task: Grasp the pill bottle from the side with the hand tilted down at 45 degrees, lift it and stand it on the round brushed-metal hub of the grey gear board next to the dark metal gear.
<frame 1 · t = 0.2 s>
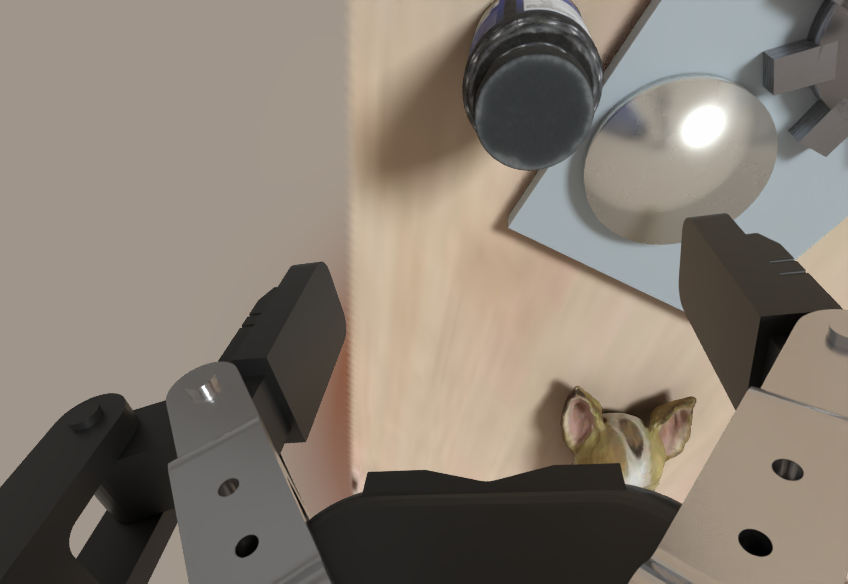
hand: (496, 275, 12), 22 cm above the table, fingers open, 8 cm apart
gear board: (744, 118, 30), on the table
pill bottle: (528, 43, 29), on the table
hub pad: (671, 161, 30), resting on gear board
ceramic sculpture: (611, 424, 49), on the table
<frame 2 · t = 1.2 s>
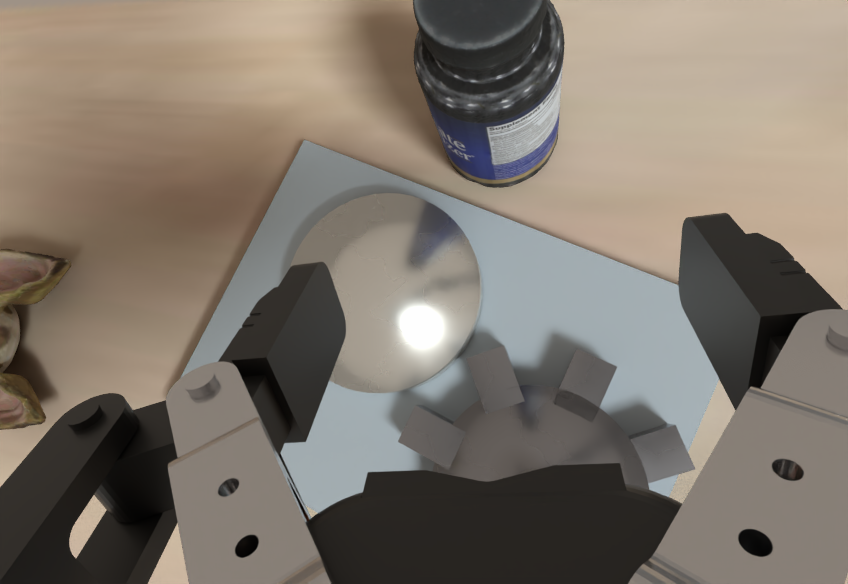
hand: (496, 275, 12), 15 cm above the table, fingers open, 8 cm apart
gear board: (430, 369, 27), on the table
pill bottle: (501, 140, 29), on the table
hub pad: (385, 294, 27), resting on gear board
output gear: (536, 487, 23), resting on gear board
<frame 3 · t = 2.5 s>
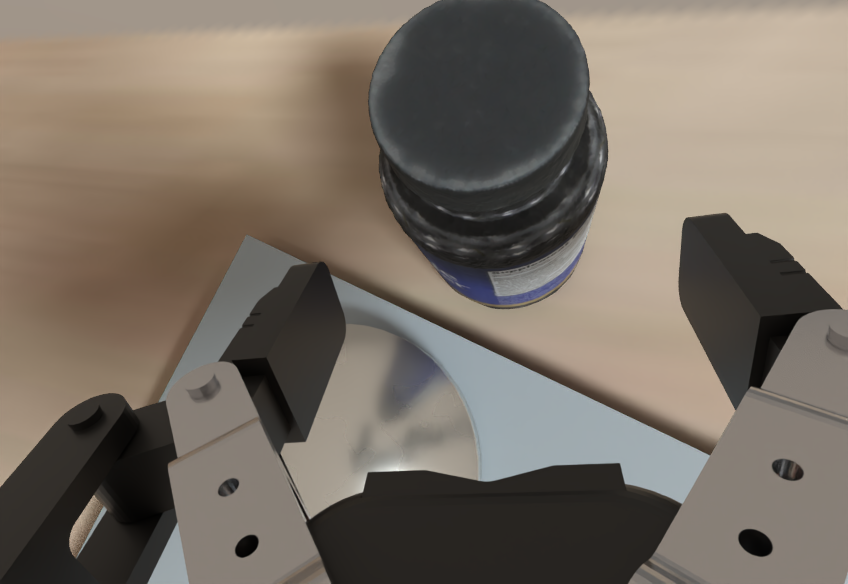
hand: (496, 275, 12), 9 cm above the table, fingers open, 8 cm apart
gear board: (409, 562, 20), on the table
pill bottle: (507, 240, 22), on the table
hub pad: (348, 460, 19), resting on gear board
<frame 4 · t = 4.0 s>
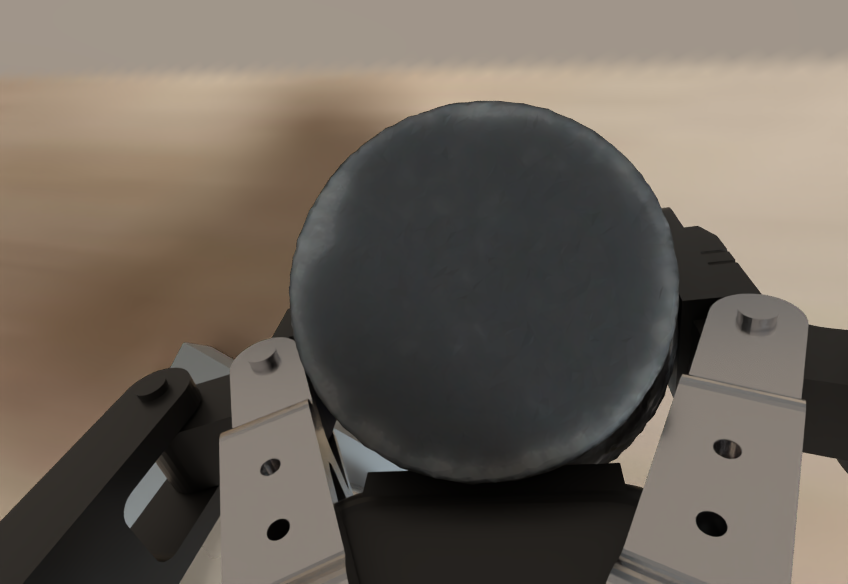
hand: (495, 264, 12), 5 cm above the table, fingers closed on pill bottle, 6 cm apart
pill bottle: (514, 353, 17), on the table, touching gripper
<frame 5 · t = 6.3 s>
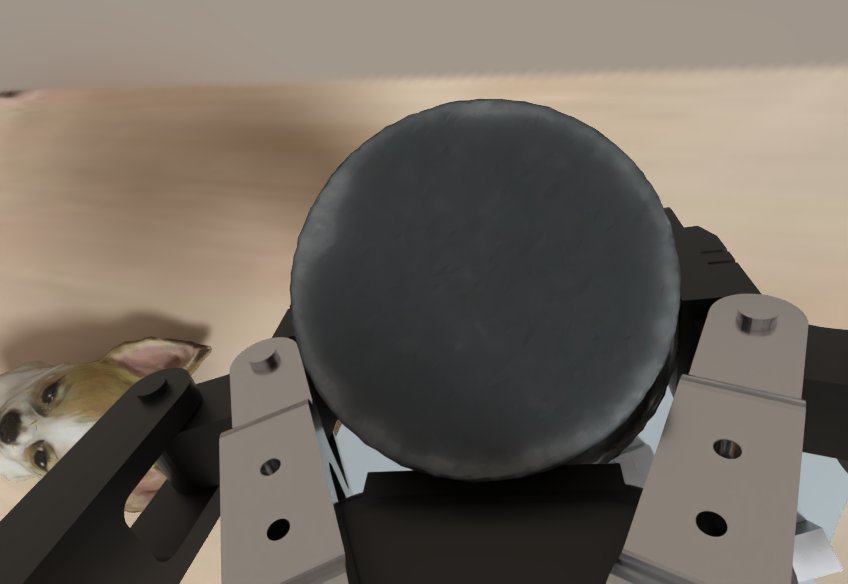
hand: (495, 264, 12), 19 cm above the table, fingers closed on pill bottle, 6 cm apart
gear board: (564, 455, 29), on the table
pill bottle: (514, 352, 17), point 14 cm above the table, touching gripper
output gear: (681, 576, 25), resting on gear board
ceramic sculpture: (133, 418, 36), on the table
when the fingers open (9 cm above the table, at t = 8.7 s): pill bottle drops 1 cm, resting on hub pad.
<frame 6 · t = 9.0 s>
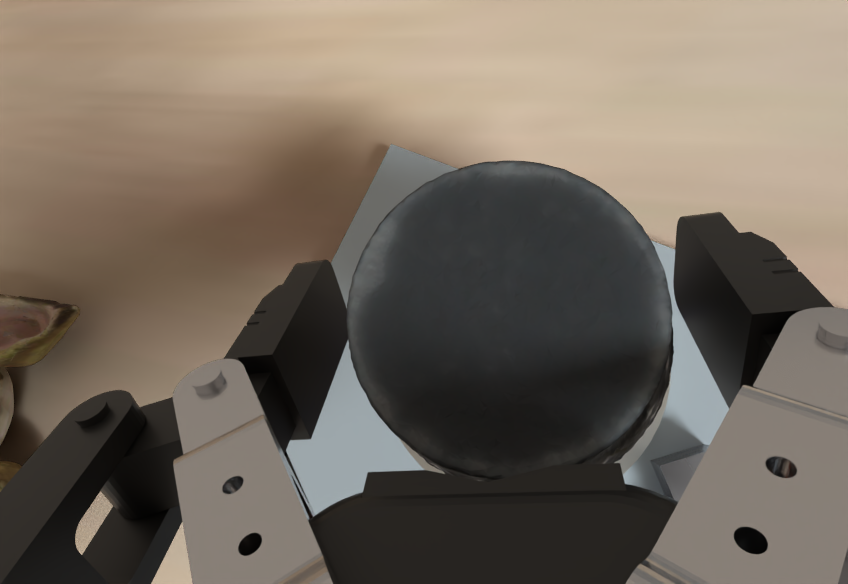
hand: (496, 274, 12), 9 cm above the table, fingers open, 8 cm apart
gear board: (577, 463, 19), on the table
pill bottle: (523, 361, 18), point 3 cm above the table, touching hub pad
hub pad: (516, 359, 19), resting on gear board
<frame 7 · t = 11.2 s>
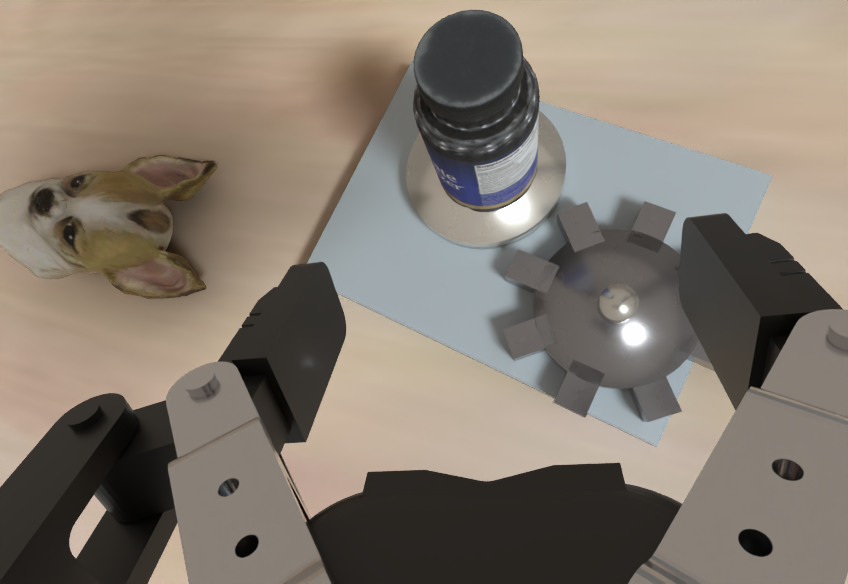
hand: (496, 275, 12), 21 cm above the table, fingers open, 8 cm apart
gear board: (519, 236, 34), on the table
pill bottle: (488, 170, 33), point 3 cm above the table, touching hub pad
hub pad: (485, 175, 34), resting on gear board
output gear: (612, 310, 30), resting on gear board
ceramic sculpture: (144, 240, 40), on the table
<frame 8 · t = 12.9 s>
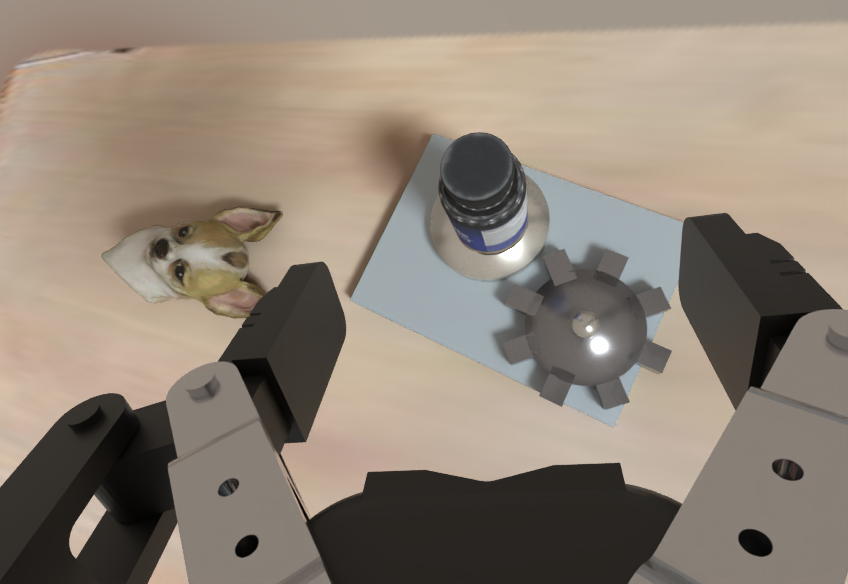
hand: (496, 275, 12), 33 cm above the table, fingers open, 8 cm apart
gear board: (515, 270, 45), on the table
pill bottle: (491, 222, 44), point 3 cm above the table, touching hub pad
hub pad: (489, 225, 45), resting on gear board
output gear: (583, 328, 41), resting on gear board
ceramic sculpture: (223, 270, 52), on the table
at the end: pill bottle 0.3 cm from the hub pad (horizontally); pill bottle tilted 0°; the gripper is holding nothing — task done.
